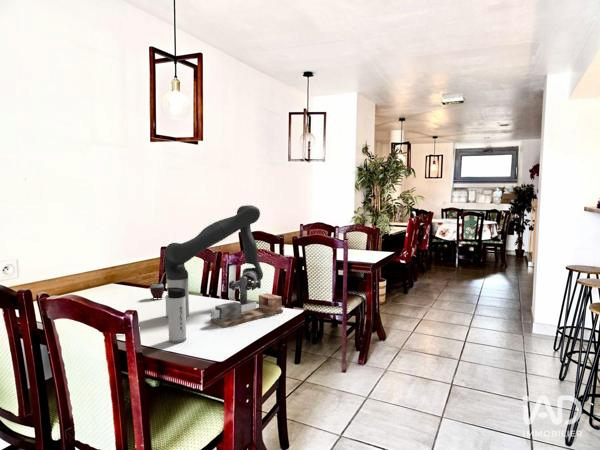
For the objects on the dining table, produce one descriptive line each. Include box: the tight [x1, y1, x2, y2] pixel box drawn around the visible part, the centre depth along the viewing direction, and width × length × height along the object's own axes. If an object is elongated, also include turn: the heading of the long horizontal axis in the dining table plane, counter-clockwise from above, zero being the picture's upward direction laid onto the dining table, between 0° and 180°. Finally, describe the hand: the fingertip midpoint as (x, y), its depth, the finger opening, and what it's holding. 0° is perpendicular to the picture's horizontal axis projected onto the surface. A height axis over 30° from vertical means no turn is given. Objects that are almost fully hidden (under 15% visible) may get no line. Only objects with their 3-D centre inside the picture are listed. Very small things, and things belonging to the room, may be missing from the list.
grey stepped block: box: [209, 275, 257, 318], centre depth 175 cm, size 22×3×15 cm, turn 134°
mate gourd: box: [149, 272, 166, 299], centre depth 216 cm, size 8×8×15 cm
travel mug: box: [166, 287, 187, 344], centre depth 150 cm, size 6×7×20 cm
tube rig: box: [210, 292, 284, 328], centre depth 181 cm, size 32×11×8 cm, turn 134°
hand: (242, 287), depth 177 cm, fingers open, 8 cm apart
